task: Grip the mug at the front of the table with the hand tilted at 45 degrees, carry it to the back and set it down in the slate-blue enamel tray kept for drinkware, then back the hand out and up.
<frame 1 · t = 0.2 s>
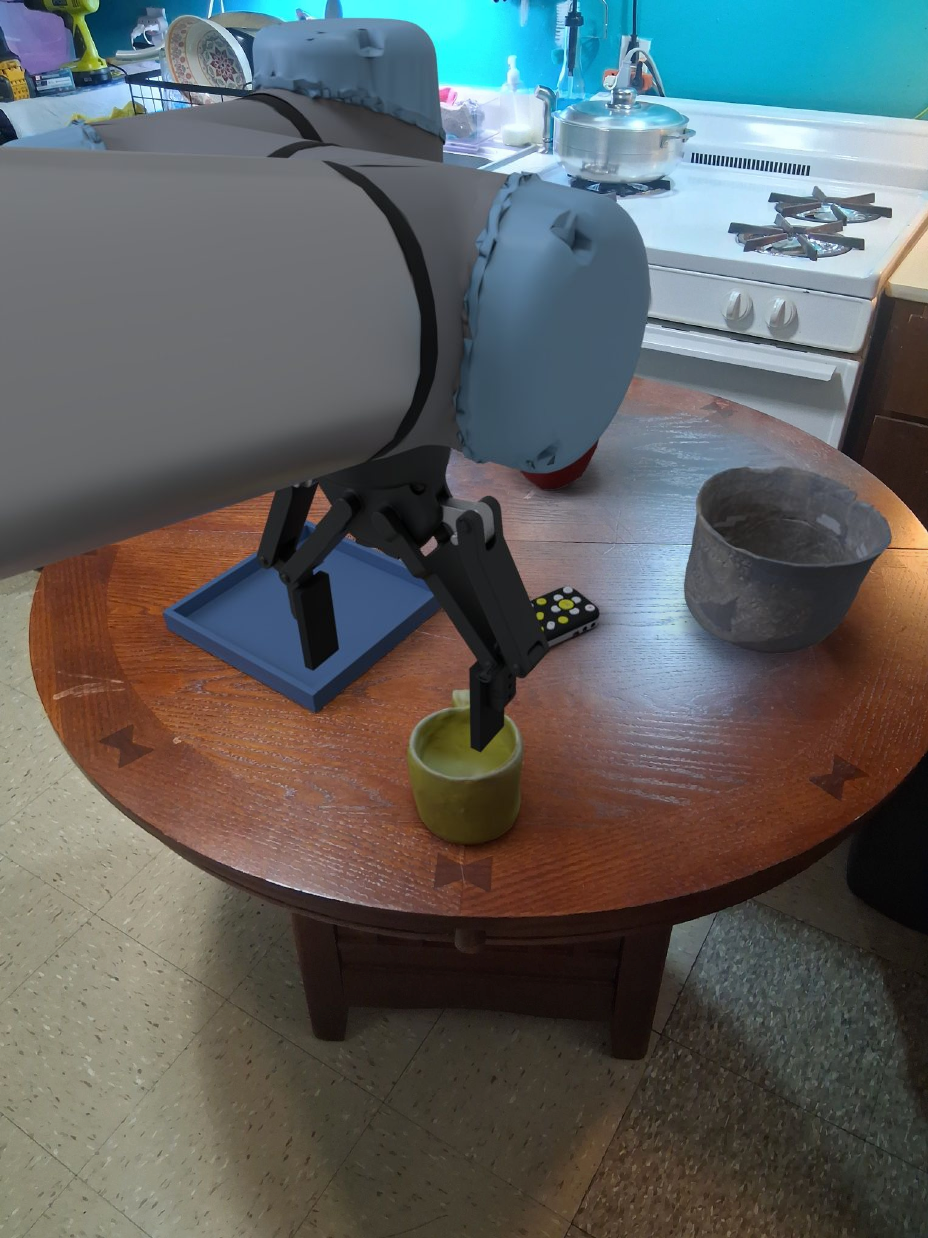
hand: (400, 695, 57), 19 cm above the table, tool pointing down, fingers open, 13 cm apart
grey stone bowl: (758, 634, 92), on the table
apple: (551, 482, 116), on the table
mug: (467, 792, 76), on the table
remote control: (539, 631, 92), on the table
potted plant: (404, 453, 123), on the table
blue tray: (311, 614, 95), on the table
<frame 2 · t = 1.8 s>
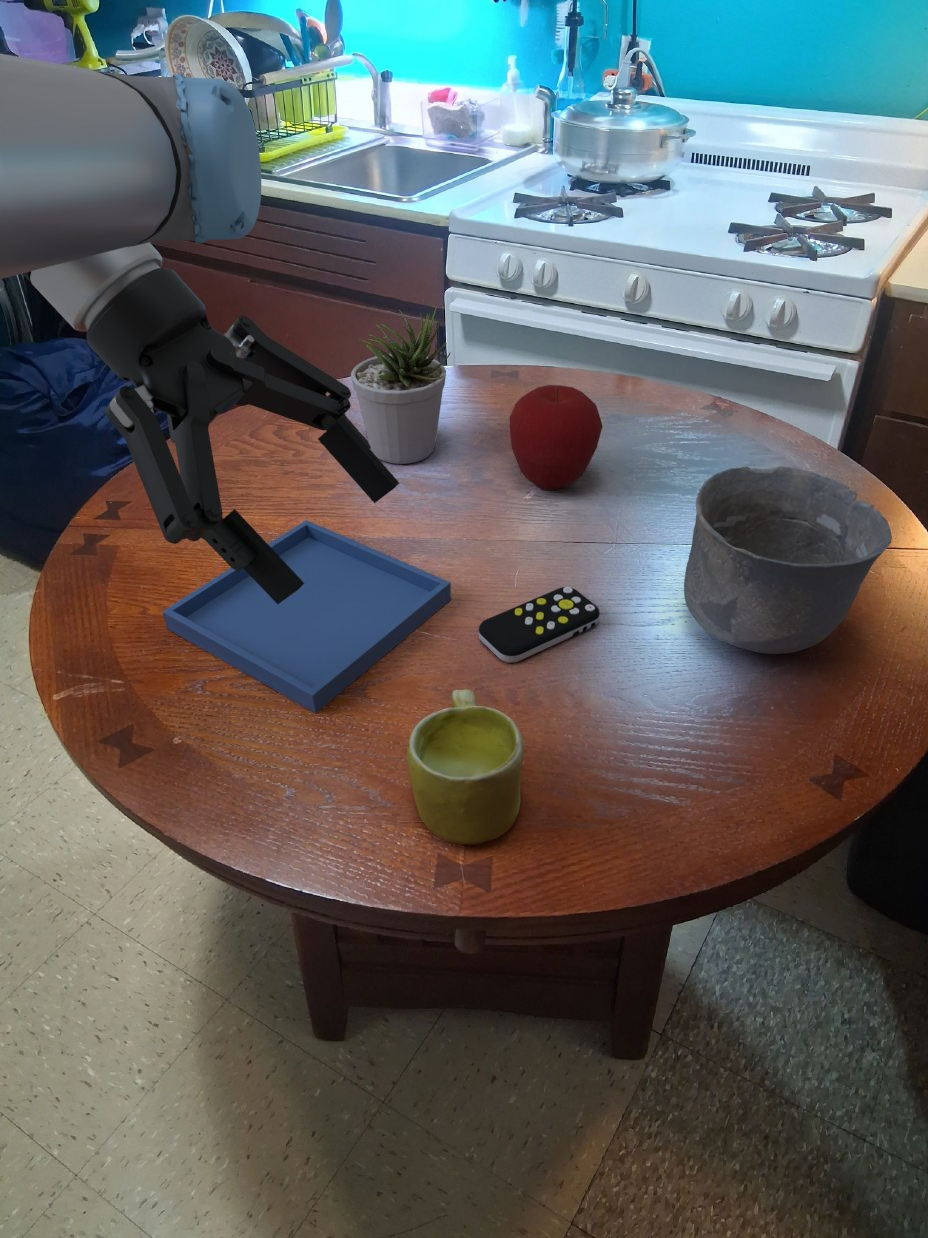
hand: (343, 540, 63), 24 cm above the table, tool tilted 45°, fingers open, 13 cm apart
nothing on the table moved.
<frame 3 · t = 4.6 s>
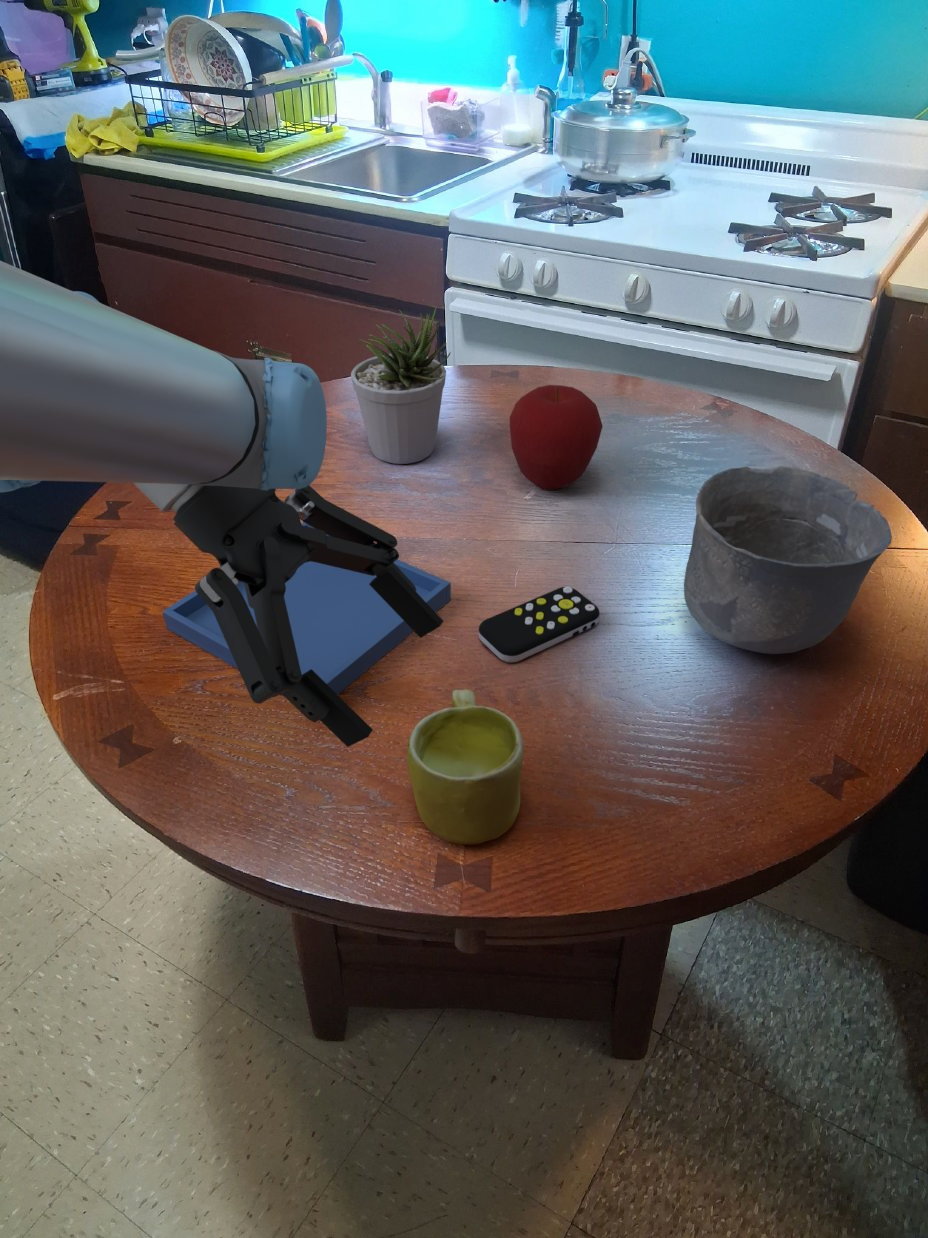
hand: (399, 680, 70), 11 cm above the table, tool tilted 45°, fingers open, 13 cm apart
nothing on the table moved.
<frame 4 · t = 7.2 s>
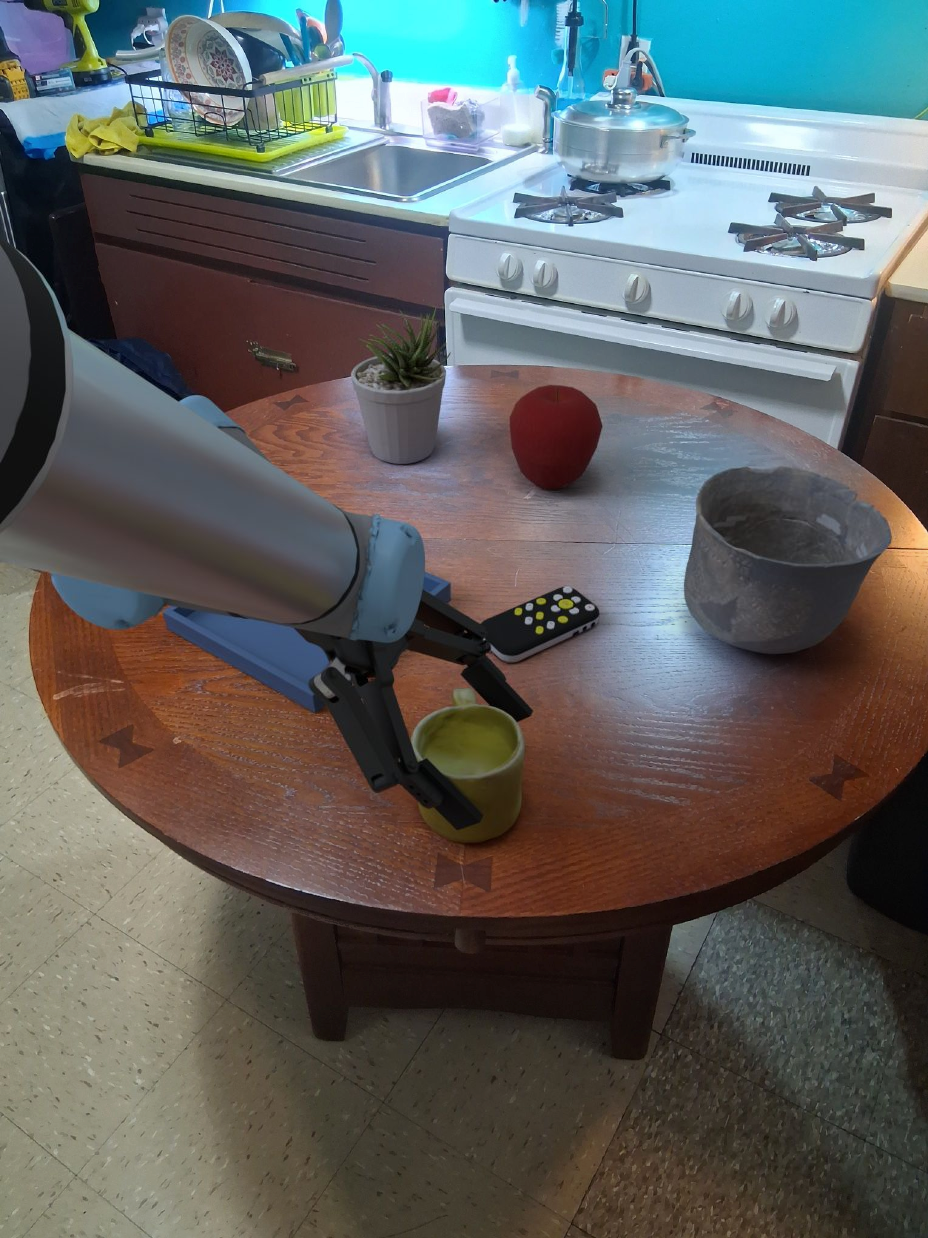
hand: (497, 767, 72), 4 cm above the table, tool tilted 45°, fingers closed on mug, 11 cm apart
mug: (468, 791, 76), on the table, touching gripper
everything else where it was.
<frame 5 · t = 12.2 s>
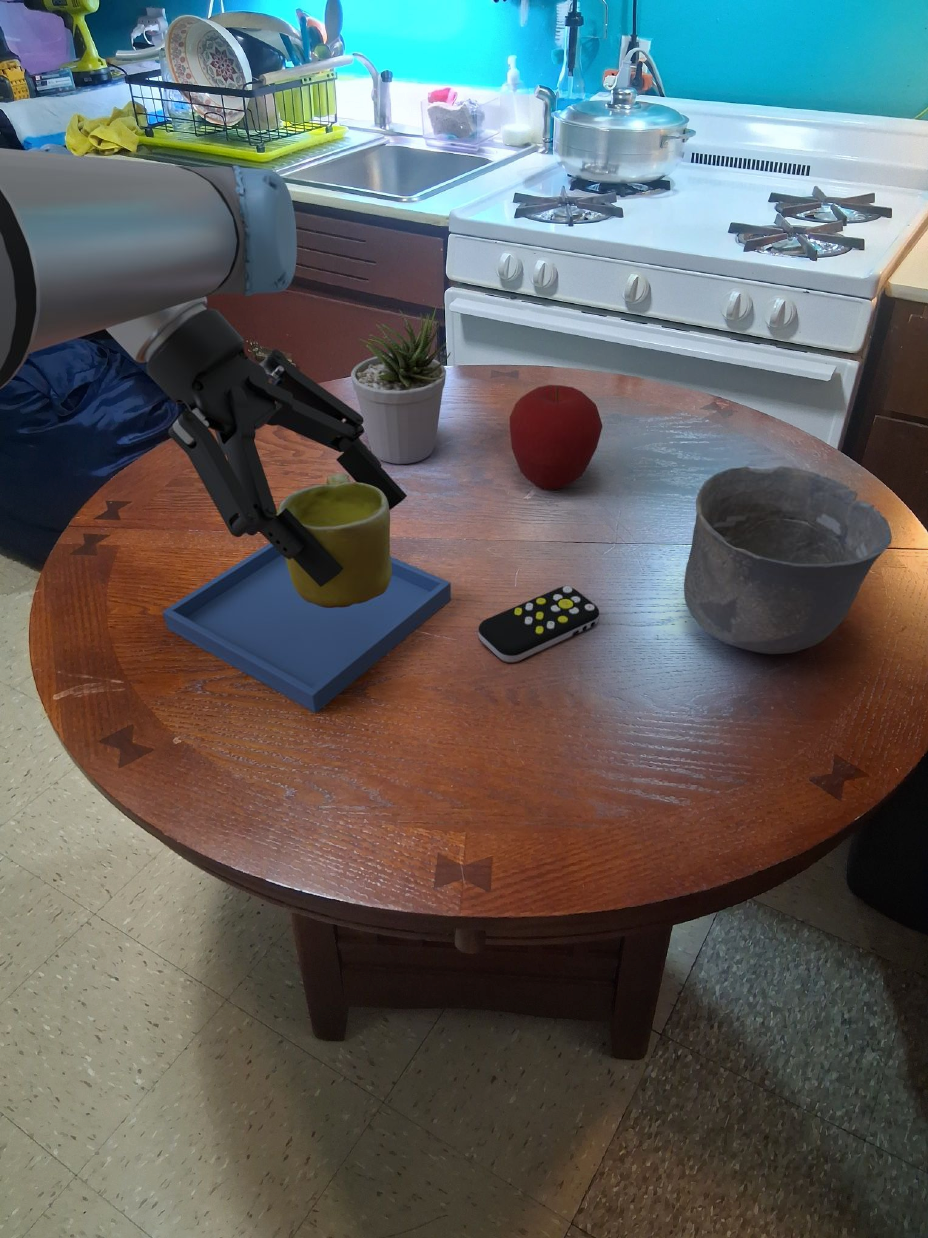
hand: (366, 539, 75), 17 cm above the table, tool tilted 45°, fingers closed on mug, 11 cm apart
mug: (344, 573, 78), point 13 cm above the table, touching gripper
everything else where it was.
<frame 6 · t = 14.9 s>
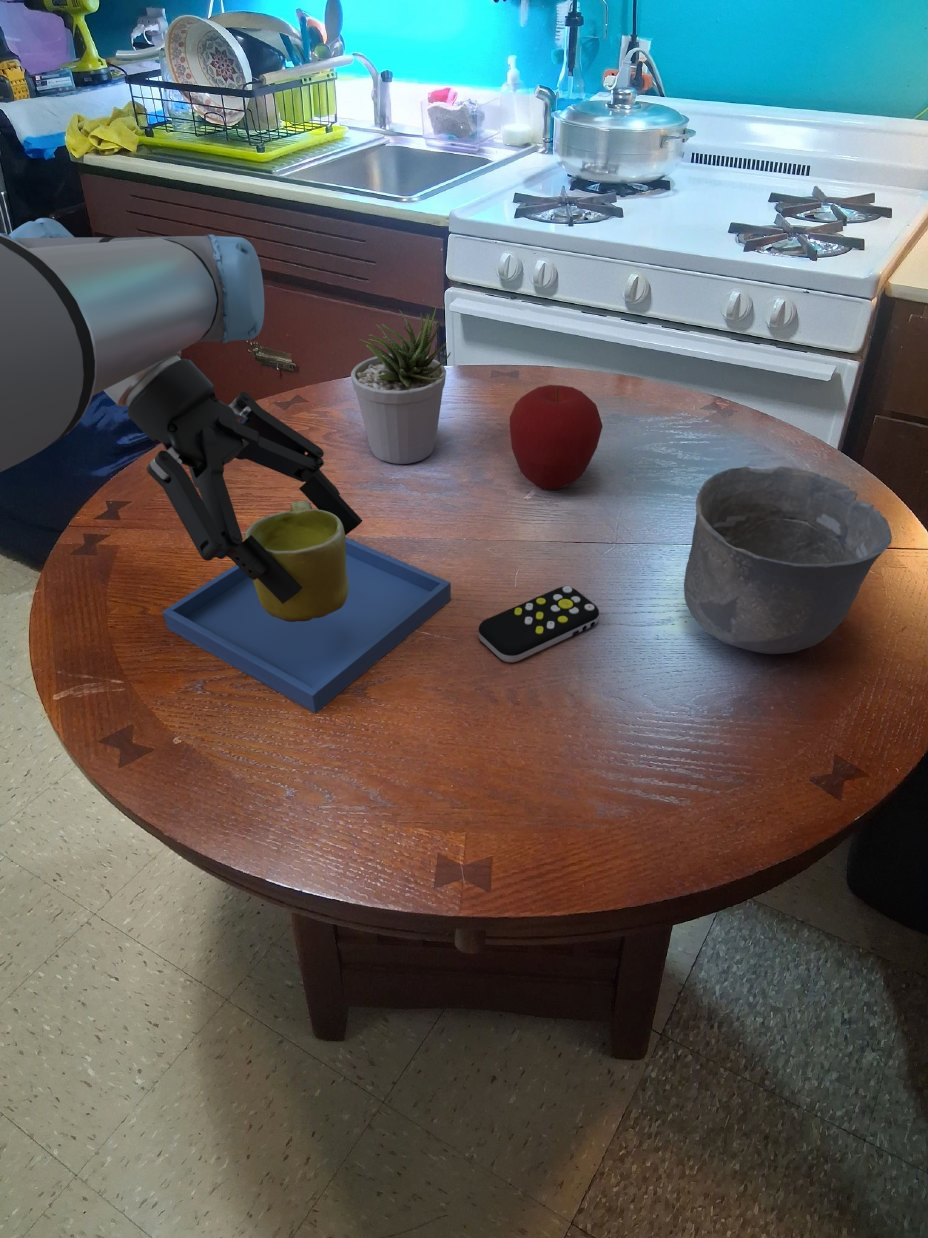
hand: (324, 560, 84), 11 cm above the table, tool tilted 45°, fingers closed on mug, 11 cm apart
mug: (306, 590, 88), point 6 cm above the table, touching gripper
everything else where it was.
when the fingers open (5 cm above the table, at t = 17.1 s): mug stays where it is, resting on blue tray.
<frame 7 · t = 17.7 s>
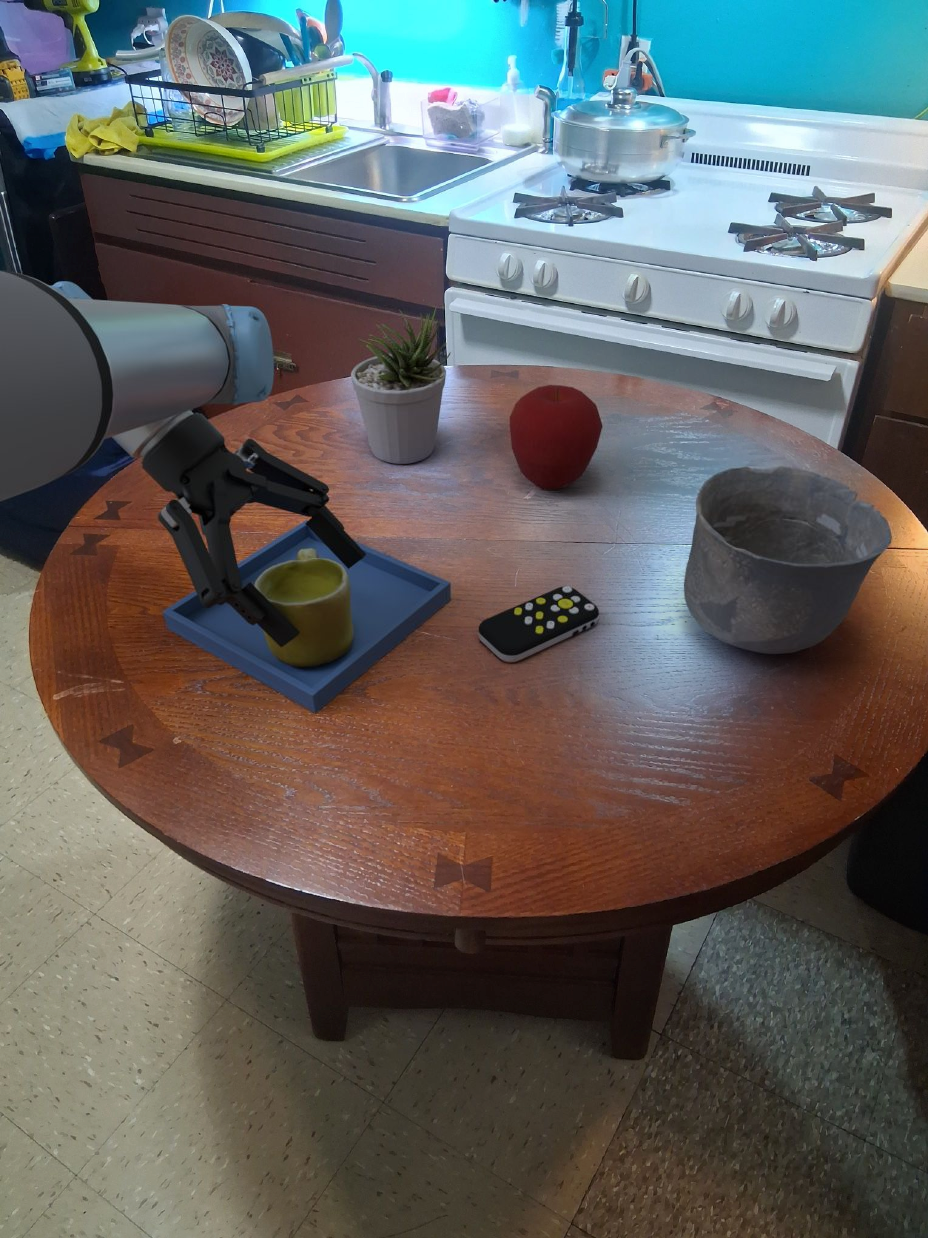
hand: (326, 598, 87), 6 cm above the table, tool tilted 45°, fingers open, 13 cm apart
mug: (313, 634, 91), resting on blue tray
everything else where it was.
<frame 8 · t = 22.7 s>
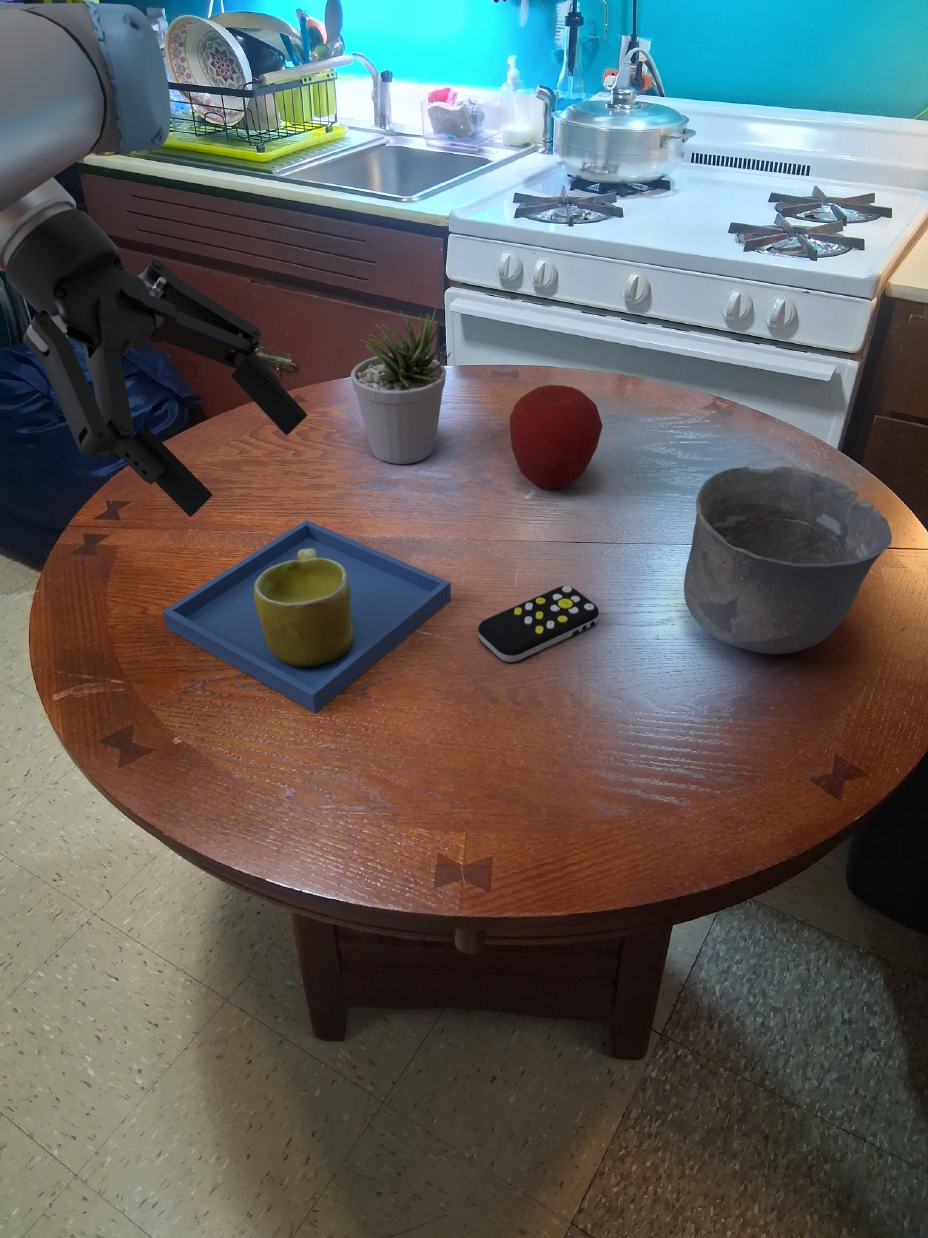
hand: (253, 463, 68), 26 cm above the table, tool tilted 45°, fingers open, 13 cm apart
nothing on the table moved.
at the end: mug inside the target area in the blue tray (2.5 cm from its centre), point 0.4 cm above the blue tray's base; mug tilted 1°; the gripper is holding nothing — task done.
